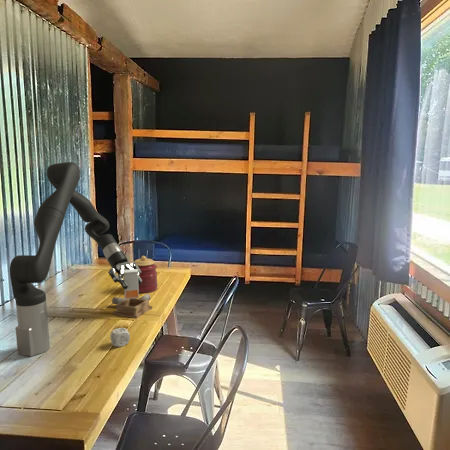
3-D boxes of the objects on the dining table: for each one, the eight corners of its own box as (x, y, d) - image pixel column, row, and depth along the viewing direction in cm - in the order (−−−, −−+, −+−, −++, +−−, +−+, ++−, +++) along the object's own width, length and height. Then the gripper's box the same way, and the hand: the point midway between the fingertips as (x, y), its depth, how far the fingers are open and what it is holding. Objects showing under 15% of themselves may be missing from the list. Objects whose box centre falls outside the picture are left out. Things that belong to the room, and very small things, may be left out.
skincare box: (124, 299, 166) (123, 272, 164) (124, 296, 170) (123, 269, 168) (139, 298, 168) (138, 271, 166) (138, 295, 172) (137, 268, 170)
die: (130, 343, 139) (129, 330, 138) (117, 348, 136) (116, 334, 135) (123, 339, 143) (122, 326, 142) (110, 343, 139) (109, 330, 138)
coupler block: (136, 318, 162) (136, 308, 162) (101, 312, 169) (100, 303, 168) (159, 303, 179) (158, 295, 178) (126, 299, 185) (125, 291, 185)
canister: (160, 291, 196) (158, 257, 194) (134, 295, 192) (132, 259, 189) (154, 284, 208) (153, 252, 206) (130, 287, 204) (128, 254, 201)
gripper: (104, 253, 165) (124, 285, 160) (131, 247, 176) (150, 276, 171) (97, 264, 169) (116, 295, 164) (124, 257, 180) (142, 286, 175)
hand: (133, 285), depth 167 cm, fingers closed on skincare box, 7 cm apart
